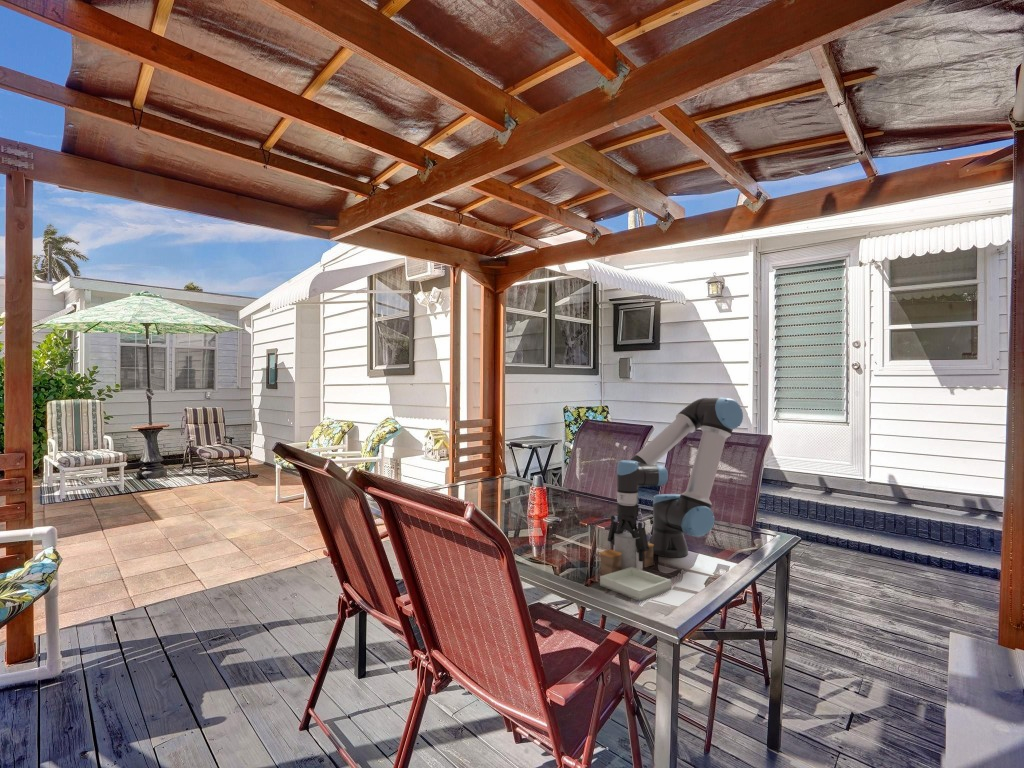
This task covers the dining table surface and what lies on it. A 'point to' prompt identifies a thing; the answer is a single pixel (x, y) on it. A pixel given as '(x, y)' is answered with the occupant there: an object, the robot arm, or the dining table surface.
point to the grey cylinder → (626, 549)
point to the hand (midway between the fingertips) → (627, 566)
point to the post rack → (613, 560)
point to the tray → (635, 583)
